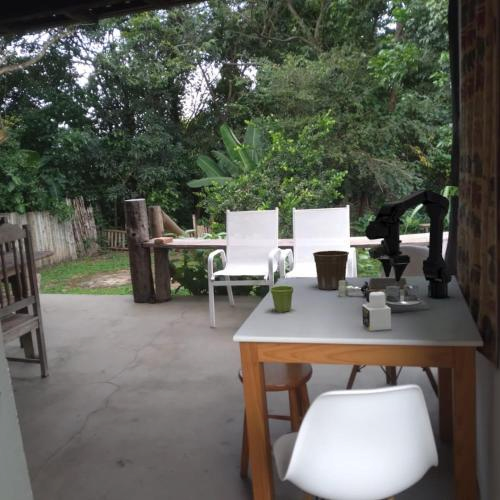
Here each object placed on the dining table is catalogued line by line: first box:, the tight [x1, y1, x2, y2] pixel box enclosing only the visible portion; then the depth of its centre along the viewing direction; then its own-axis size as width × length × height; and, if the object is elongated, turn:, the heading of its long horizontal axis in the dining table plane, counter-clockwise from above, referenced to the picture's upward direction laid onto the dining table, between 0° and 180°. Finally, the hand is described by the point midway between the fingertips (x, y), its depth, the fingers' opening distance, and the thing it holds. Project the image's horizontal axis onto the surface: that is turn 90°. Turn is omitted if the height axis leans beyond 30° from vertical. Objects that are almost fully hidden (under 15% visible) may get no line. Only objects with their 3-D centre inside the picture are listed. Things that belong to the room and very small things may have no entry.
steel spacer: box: [385, 286, 401, 302], centre depth 181 cm, size 5×5×5 cm
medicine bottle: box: [361, 290, 392, 332], centre depth 157 cm, size 7×7×12 cm
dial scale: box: [385, 295, 430, 314], centre depth 181 cm, size 17×14×3 cm
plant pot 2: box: [312, 250, 350, 291], centre depth 221 cm, size 16×16×16 cm
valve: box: [337, 279, 369, 298], centre depth 202 cm, size 7×7×12 cm
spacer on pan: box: [403, 284, 419, 301], centre depth 181 cm, size 5×5×5 cm
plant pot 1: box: [269, 285, 295, 313], centre depth 186 cm, size 9×9×9 cm
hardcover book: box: [368, 277, 408, 293], centre depth 217 cm, size 16×23×2 cm
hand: (392, 279), depth 180 cm, fingers open, 9 cm apart
